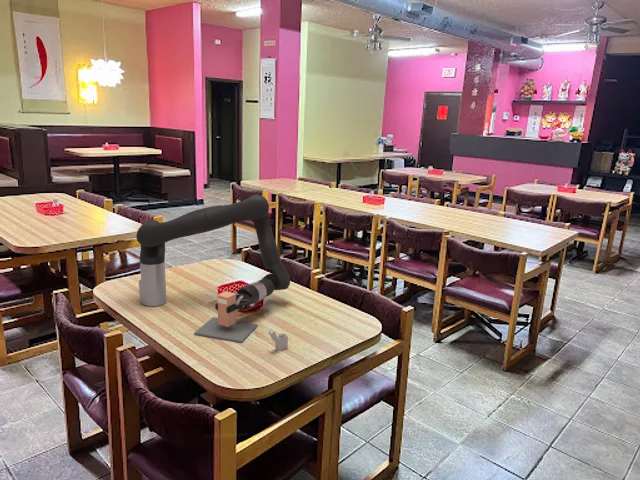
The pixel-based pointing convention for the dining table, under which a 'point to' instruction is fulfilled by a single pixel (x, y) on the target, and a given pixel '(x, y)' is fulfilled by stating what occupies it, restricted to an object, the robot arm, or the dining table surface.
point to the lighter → (279, 340)
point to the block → (223, 302)
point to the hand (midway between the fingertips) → (221, 308)
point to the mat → (226, 330)
